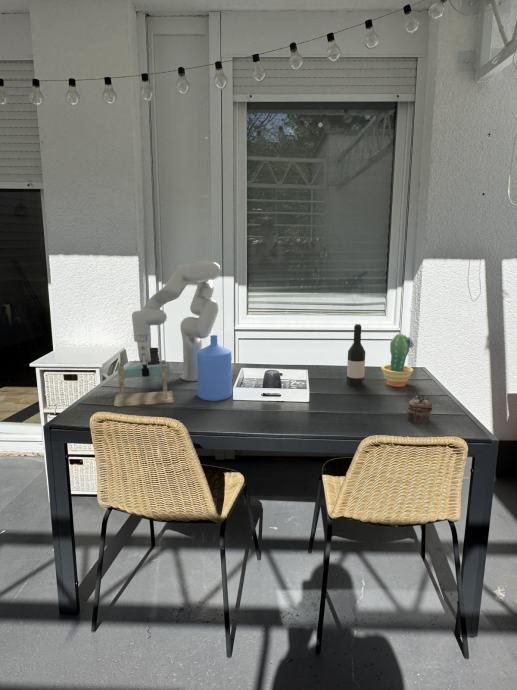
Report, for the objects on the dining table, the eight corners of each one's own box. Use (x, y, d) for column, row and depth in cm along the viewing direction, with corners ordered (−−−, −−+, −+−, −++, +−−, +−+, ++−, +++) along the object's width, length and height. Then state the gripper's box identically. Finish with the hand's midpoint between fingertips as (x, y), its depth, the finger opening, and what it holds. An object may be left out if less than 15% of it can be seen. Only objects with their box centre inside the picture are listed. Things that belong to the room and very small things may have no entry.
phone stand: (156, 371, 264) (155, 349, 261) (145, 371, 264) (144, 349, 261) (160, 367, 273) (159, 346, 270) (149, 366, 273) (148, 345, 270)
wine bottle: (362, 381, 245) (365, 322, 239) (364, 386, 237) (367, 326, 230) (346, 381, 246) (348, 322, 239) (347, 386, 238) (349, 325, 231)
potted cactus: (405, 390, 231) (409, 338, 226) (375, 384, 241) (377, 334, 235) (417, 383, 243) (420, 333, 238) (387, 377, 253) (390, 330, 247)
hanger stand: (172, 393, 226) (170, 359, 223) (173, 402, 215) (172, 366, 211) (116, 397, 221) (113, 362, 217) (114, 406, 209) (111, 369, 206)
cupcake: (425, 415, 200) (427, 391, 198) (434, 424, 190) (436, 399, 188) (402, 415, 200) (403, 392, 197) (410, 424, 190) (412, 400, 188)
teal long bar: (172, 372, 238) (171, 360, 236) (173, 376, 232) (172, 363, 231) (119, 377, 233) (117, 365, 231) (118, 381, 227) (117, 369, 226)
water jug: (227, 402, 215) (226, 340, 209) (193, 400, 218) (191, 338, 212) (235, 391, 230) (235, 333, 223) (203, 389, 233) (202, 331, 226)
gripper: (150, 340, 221) (154, 379, 225) (150, 332, 236) (153, 369, 241) (133, 342, 219) (137, 381, 224) (134, 334, 235) (138, 370, 239)
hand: (145, 374), depth 232 cm, fingers closed on teal long bar, 4 cm apart
